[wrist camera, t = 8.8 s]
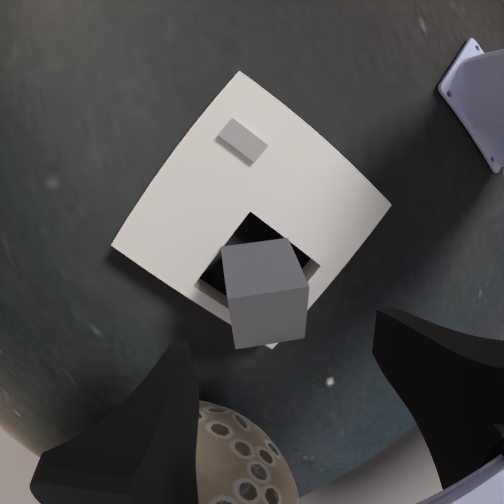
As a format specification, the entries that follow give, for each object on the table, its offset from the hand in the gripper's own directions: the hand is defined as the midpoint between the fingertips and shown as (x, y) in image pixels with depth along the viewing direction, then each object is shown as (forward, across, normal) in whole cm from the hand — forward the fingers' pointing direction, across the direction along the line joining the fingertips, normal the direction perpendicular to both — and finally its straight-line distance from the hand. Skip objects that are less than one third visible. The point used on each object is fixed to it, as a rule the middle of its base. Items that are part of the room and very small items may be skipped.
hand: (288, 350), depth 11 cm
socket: (+9, 0, -3) cm, 10 cm away
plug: (+9, 0, 0) cm, 9 cm away
